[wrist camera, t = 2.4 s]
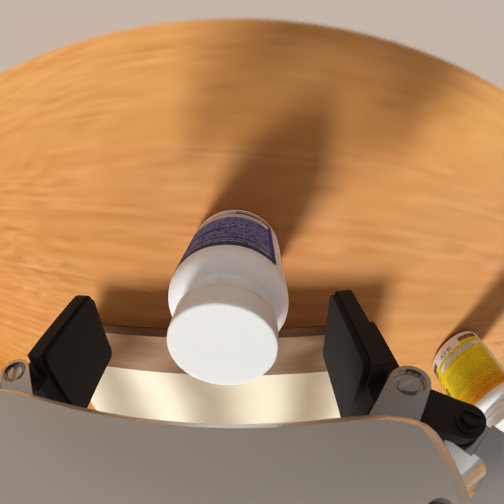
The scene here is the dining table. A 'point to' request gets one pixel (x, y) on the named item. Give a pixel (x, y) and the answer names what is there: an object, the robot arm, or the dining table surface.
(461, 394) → the supplement bottle
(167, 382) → the socket block
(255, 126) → the dining table surface
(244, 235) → the pill bottle
